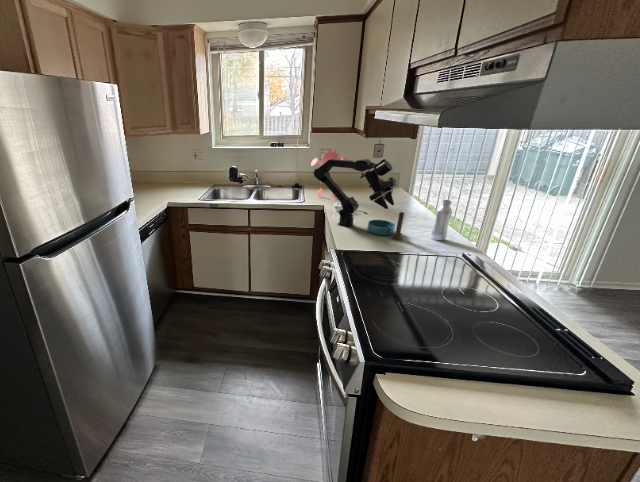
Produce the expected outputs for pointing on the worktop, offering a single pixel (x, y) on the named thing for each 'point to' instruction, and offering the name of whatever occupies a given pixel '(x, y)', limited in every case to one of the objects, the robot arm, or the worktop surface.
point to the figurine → (325, 158)
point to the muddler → (399, 227)
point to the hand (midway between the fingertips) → (390, 206)
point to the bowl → (381, 227)
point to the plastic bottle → (442, 221)
